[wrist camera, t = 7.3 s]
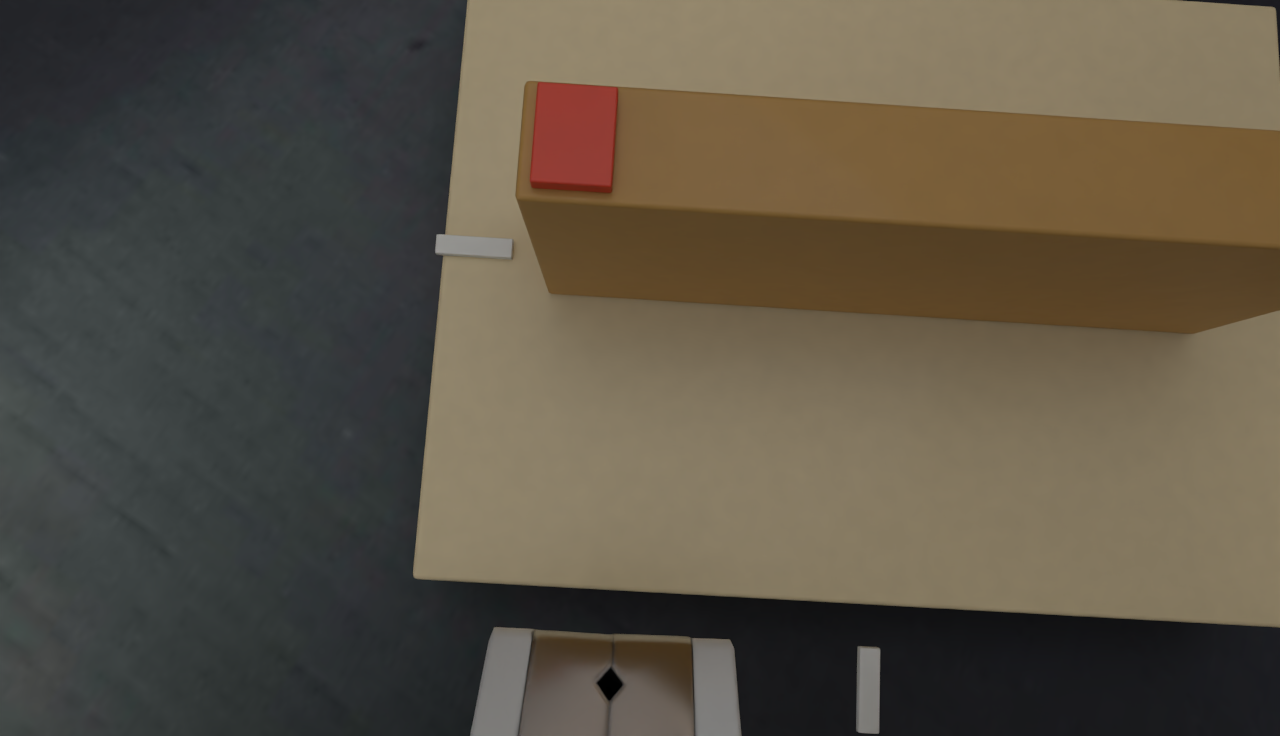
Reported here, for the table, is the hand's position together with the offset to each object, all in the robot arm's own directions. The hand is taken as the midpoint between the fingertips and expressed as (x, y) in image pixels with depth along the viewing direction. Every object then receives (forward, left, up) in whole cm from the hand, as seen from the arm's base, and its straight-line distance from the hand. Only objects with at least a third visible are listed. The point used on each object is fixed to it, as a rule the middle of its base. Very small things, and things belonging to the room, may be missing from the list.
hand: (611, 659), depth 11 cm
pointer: (-4, -6, -4) cm, 9 cm away
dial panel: (-4, -6, -7) cm, 10 cm away
